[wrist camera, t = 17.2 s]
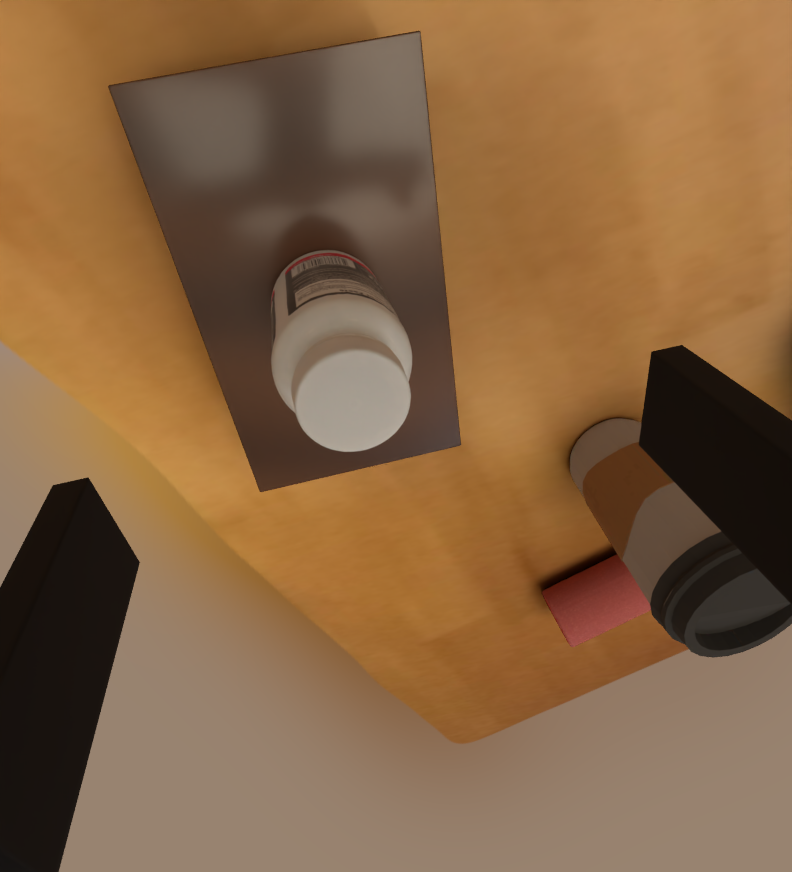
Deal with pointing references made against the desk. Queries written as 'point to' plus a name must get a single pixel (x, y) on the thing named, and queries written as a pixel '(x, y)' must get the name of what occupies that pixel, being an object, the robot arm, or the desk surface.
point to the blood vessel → (595, 600)
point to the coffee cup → (674, 547)
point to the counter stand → (300, 222)
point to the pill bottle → (339, 352)
